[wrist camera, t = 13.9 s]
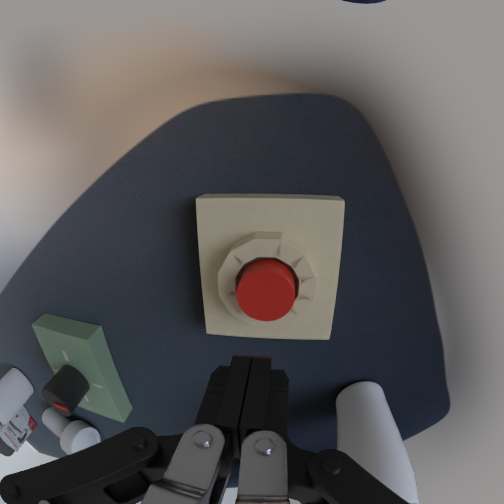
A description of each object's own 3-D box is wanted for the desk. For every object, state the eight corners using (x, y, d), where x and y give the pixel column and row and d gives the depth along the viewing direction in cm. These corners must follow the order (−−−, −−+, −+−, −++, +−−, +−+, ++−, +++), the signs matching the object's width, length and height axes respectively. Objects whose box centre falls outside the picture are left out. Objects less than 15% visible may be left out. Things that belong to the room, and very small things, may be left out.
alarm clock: (5, 405, 47) (-20, 434, 32) (30, 432, 50) (8, 463, 35) (-2, 408, 52) (-23, 433, 37) (19, 431, 54) (0, 458, 39)
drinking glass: (327, 416, 27) (333, 531, 13) (328, 378, 25) (341, 515, 11) (383, 408, 26) (407, 516, 12) (392, 368, 24) (432, 493, 10)
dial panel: (45, 312, 28) (30, 324, 25) (101, 325, 27) (86, 341, 24) (79, 390, 32) (69, 403, 30) (132, 407, 31) (123, 423, 28)
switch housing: (204, 193, 21) (186, 202, 17) (338, 196, 20) (350, 205, 16) (212, 319, 24) (200, 347, 21) (326, 324, 23) (332, 353, 20)
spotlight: (106, 449, 36) (80, 471, 29) (68, 421, 40) (43, 438, 32) (97, 421, 35) (66, 443, 28) (58, 393, 38) (29, 409, 31)
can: (39, 394, 37) (9, 432, 25) (24, 388, 38) (-5, 422, 27) (22, 368, 35) (-13, 405, 23) (8, 364, 36) (-24, 397, 25)
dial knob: (71, 386, 28) (51, 412, 23) (57, 361, 26) (34, 386, 21) (95, 394, 27) (75, 422, 22) (81, 368, 26) (57, 396, 21)
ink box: (38, 425, 45) (17, 453, 33) (27, 418, 45) (7, 445, 34) (22, 404, 42) (-1, 432, 31) (12, 397, 42) (-11, 424, 31)
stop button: (239, 258, 18) (235, 268, 17) (295, 260, 18) (296, 270, 16) (241, 306, 19) (237, 320, 18) (292, 308, 19) (293, 322, 17)
